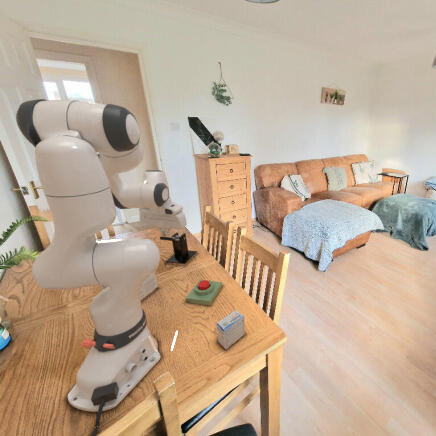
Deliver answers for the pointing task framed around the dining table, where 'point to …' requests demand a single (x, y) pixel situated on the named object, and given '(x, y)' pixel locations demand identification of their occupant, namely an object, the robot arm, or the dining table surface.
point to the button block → (204, 293)
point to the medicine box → (230, 329)
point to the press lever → (170, 238)
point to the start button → (204, 285)
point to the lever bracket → (180, 250)
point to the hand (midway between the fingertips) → (165, 235)
